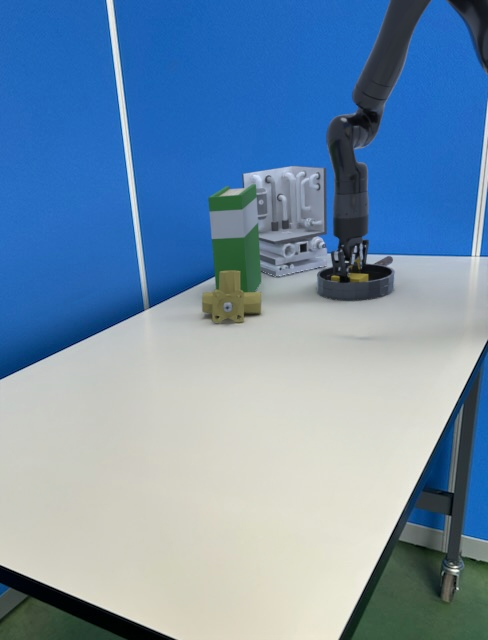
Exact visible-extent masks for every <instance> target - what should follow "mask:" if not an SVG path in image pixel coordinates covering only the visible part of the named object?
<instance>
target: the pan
mask: <svg viewBox="0 0 488 640" xmlns="http://www.w3.org/2000/svg"><path fill="white" fill-rule="evenodd" d="M345 267H346V269H347V266H345ZM338 269H339V267H338ZM351 271H352V270H351ZM360 274H368V281H367V282H335V281H331V277H332V276H334V272H333V266H329V267H325V268H324V269H321V270H320V271H318V272H317V274H316V292H317V291H318V292H317V294H318V293H319V294H320V295H319V294H318V295H319V296H321V297H323V298H326V297H327V298H326V299H329V298H331V299H330V300H333V301H334V300H335V299H337V300H335V301H346V302H350V301H353V302H355V301H368V300H375V299H379V298H383V297H386V296H388V295H390V294H392V293H393V292H394V291H395V285H396V284H395V283H396V280H395V279H396V271H395V270H394V269H393V267H390V266H388V265H387V266H383V265H378V264H374V263H366V265H365V266H362V270H361V271H360ZM392 291H393V292H392ZM385 295H386V296H385ZM367 299H368V300H367Z"/></svg>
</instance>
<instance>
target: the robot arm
mask: <svg viewBox="0 0 488 640" xmlns="http://www.w3.org/2000/svg"><path fill="white" fill-rule="evenodd" d="M432 1H433V0H389V3H388V5H387V9H386V11H385V14H384V17H383V20H382V23H381V25H380V28H379V32H378V34H377V36H376V39H375V41H374V44H373V46H372V47H371V50H370V53H369V55H368V57H367V59H366V61H365V63H364V65H363V68H362V69H361V72H360V73H359V76H358V78H357V79H356V82H355V84H354V87H353V89H352V91H351V100H352V102H353V103H354V105H356V106H357V108H356V111H355V112H352V113H344V114H339V115H337V116H334V117H333V118H332V119H331V120H330V122H329V123H328V126H327V129H326V133H325V143H326V148H327V152H328V155H329V160H330V164H331V167H332V171H333V174H334V175H333V179H334V180H333V200H332V235H333V237H335V238H337V239H338V244H337V249H336V250H332V251H331V252H330V259H331V264H332V267H333V272H334V276H339V277H340V282H350V273H359V274H360V271H361V270H362V266H365V265H366V264H367V258H368V252H369V245H370V244H369V243H370V240H369V239H365V238H363V237H366V236H367V235H368V233H369V213H370V212H369V211H370V202H369V201H370V200H369V168H368V165H367V163H366V162H363V161H358V160H357V157H356V153H355V150H359V149H364V148H366V147H368V146H369V145H371V143H372V142H373V141H374V140H375V138H376V137H377V135H378V133H379V131H380V127H381V124H382V119H383V117H384V113H385V112H384V111H385V108H386V103H387V102H388V100H389V98H390V96H391V95H392V92H393V91H394V89H395V87H396V85H397V83H398V81H399V79H400V78H401V75H402V72H403V70H404V67H405V65H406V61H407V57H408V54H409V50H410V49H409V48H410V44H411V42H412V38H413V35H414V32H415V29H416V28H417V26H418V23H419V22H420V19H421V18H422V16H423V14H424V13H425V11H426V9H428V6H429V5H430V4H431V2H432ZM445 1H446V3H448V5H449V6H450V7H452V9H453V10H454V11H455V12H456V14H457V15H458V16H459V17H460V19H461V21H462V22H463V23H464V25H465V28H466V29H467V32H468V35H469V39H470V41H471V46H472V48H473V51H474V54H475V57H476V60H477V61H478V64H479V65H480V67H481V69H482V70H483V72H484V73H485V74H486V76H487V77H488V0H445ZM345 266H347V269H346V267H345ZM338 267H339V269H338ZM351 270H352V271H351Z"/></svg>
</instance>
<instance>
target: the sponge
mask: <svg viewBox="0 0 488 640" xmlns="http://www.w3.org/2000/svg"><path fill="white" fill-rule="evenodd" d="M331 281H335V282H340V277H339V276H332V277H331ZM367 281H368V274H359V273H350V282H367Z"/></svg>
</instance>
